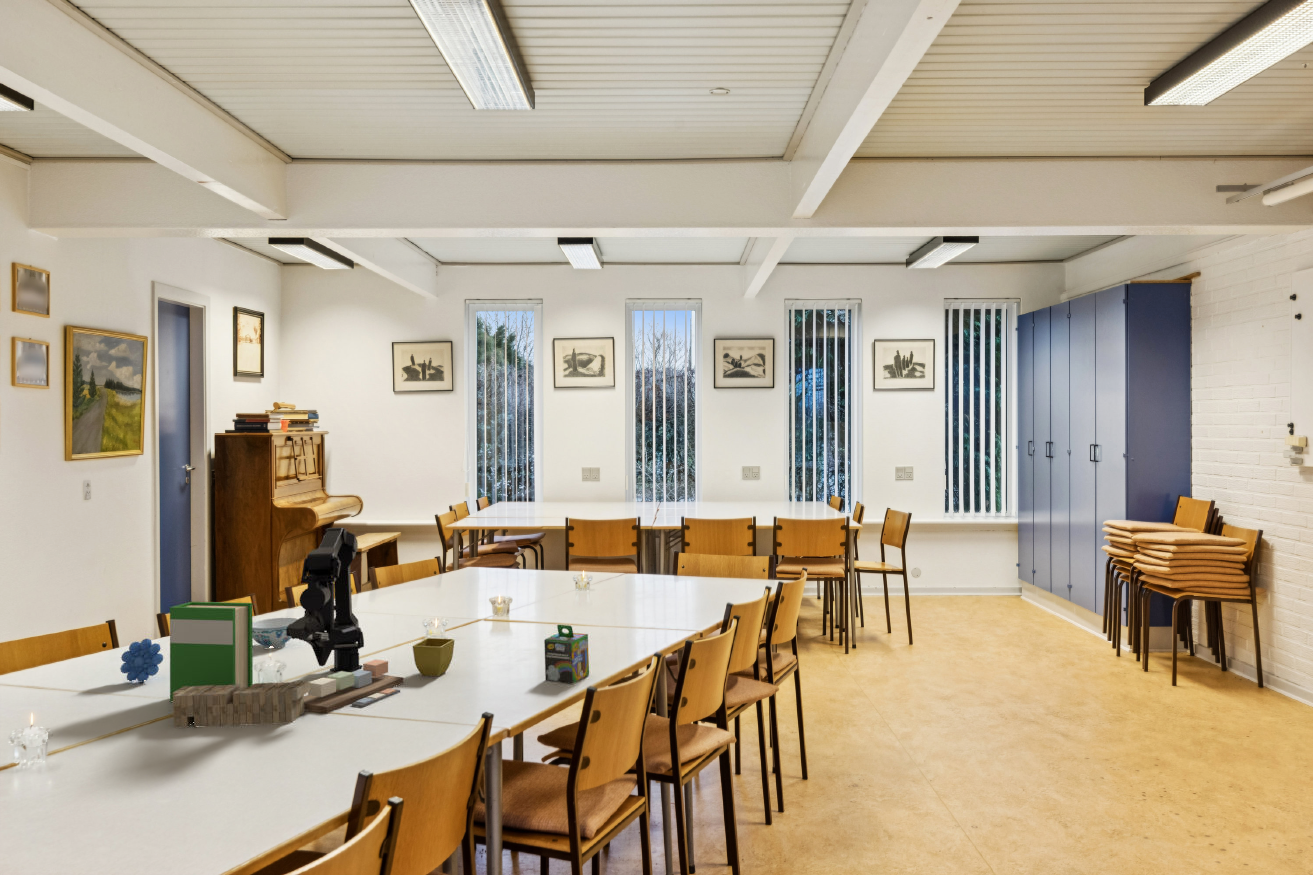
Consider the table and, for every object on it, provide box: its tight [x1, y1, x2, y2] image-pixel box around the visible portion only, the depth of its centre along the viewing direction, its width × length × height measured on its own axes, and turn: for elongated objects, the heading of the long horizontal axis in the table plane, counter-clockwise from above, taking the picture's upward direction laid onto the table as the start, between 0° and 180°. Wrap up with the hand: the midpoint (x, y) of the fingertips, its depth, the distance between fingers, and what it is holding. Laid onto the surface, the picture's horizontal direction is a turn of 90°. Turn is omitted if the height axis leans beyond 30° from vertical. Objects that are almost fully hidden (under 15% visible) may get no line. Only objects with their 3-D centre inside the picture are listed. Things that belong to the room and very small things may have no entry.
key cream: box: [307, 677, 336, 697], centre depth 192 cm, size 4×4×3 cm
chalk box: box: [543, 624, 590, 685], centre depth 213 cm, size 9×9×15 cm
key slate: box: [350, 669, 372, 688], centre depth 203 cm, size 4×4×3 cm
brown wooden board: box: [304, 674, 404, 714], centre depth 200 cm, size 12×26×2 cm, turn 156°
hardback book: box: [169, 601, 254, 701], centre depth 198 cm, size 18×7×24 cm, turn 81°
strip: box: [351, 688, 401, 708], centre depth 196 cm, size 4×13×1 cm, turn 156°
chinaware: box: [252, 617, 299, 649], centre depth 251 cm, size 15×15×8 cm
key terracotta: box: [362, 659, 389, 677], centre depth 208 cm, size 4×4×3 cm
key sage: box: [326, 671, 354, 690], centre depth 197 cm, size 4×4×3 cm
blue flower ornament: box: [119, 638, 164, 682], centre depth 214 cm, size 12×7×12 cm, turn 89°
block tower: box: [172, 680, 311, 728], centre depth 182 cm, size 8×8×29 cm
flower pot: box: [412, 637, 455, 677], centre depth 218 cm, size 9×9×9 cm
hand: (322, 665), depth 192 cm, fingers closed
